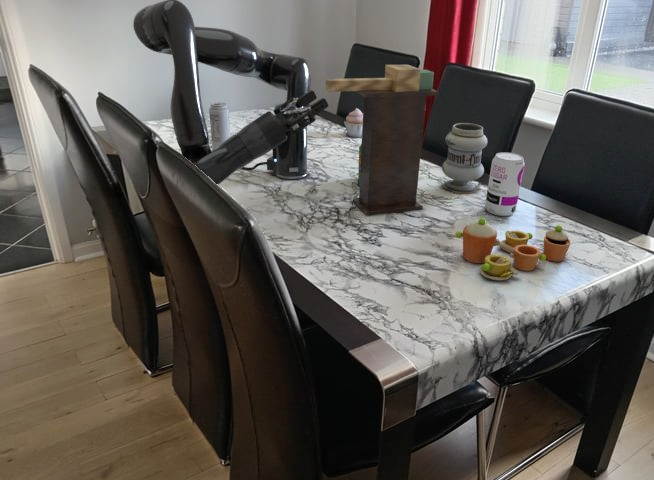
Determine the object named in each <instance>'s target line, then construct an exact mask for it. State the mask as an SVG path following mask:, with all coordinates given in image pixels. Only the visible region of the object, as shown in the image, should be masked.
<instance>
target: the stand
mask: <svg viewBox="0 0 654 480" xmlns="http://www.w3.org/2000/svg"><path fill="white" fill-rule="evenodd" d="M353 92H354V93H356V94H358V95H360V96H362V97H363V108H362V113H363V126H362V137H361V144H362V147H361V168H360V186H359V191H358V192H359V193H358V197H353V198H352V203H353V204H355V206H356V207H357V208H358V209H359V210H360V211H362V213H363V214H365V215H366V216H374V215H382V214H393V213H400V212H401V213H402V212H410V211H419V210H420V211H421V210H423V205H422V204H421V203H420V202H418V201H417V195H418V194H417V193H418V185H419V184H418V183H419V174H420V166H421V165H420V164H421V155H422V145H423V133H424V123H425V114H426V105H427V97H429V96H430V97H435V96H438V94H439V91H438V90H435V89H434V88H432V90H419V91H413V92H395V91H393V90H374V91H353Z"/></svg>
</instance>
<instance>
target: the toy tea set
mask: <svg viewBox="0 0 654 480" xmlns="http://www.w3.org/2000/svg"><path fill="white" fill-rule="evenodd" d="M504 235H505V236H504V237H505V239H503V240H501V241H500V238H497V237H498V232H497V230H496V229H495V228H494V227H493V226H492V225H491V224H489V223H487V222H486V218H484V217H481V218H479V219H478V221H475V222H472V223H469V224H468V225H465V226H464V228H463V229H462V231H460V230H459V231H457V232H455V237H456V238H457V239H460V238H462V257H463V259H464V260H466V261H467V262H470V263H473V264H483V265H481V266H480V268H479V273H480V274H481V275H482V276H483V277H484V278H486V279H489V280H493V281H506V280H508V279H510V278H511V277H512V276H518V274H519V271H518V270H520V271H524V272H530V271H533V270H534V269H535V268H536V266H537V264H538V262H539V261H541V262H545V261H546V260H547V261H551V262H556V263H557V262H558V263H559V262H562V261H564V260H565V258H566V256H567V253H568V250H569V249H570V246H571V244H572V242H571V240H570V239H569V235H568V234H567V233H566V232H565V231H563V227H562V225H559V224H558V225H556V226H555V228H553V229H550V230H547V231H545V236H544V237H543V252H542V251H541V250H540V249H539V248H538V247H536V246H534V245H530V244H528V242H529V241H530V240H531V239H533V237H534V236H533V233H531V232H524V231H521V230H506V231H505V234H504ZM497 246H499V247H500V248H501V249H502V250H504V252H507V253H509V255H508V256H509V257H510V258H512V259H513V262H512V261H511V259H510V258H509V257H507V256H504V255H500V254H492V251H493V248H494V247H497ZM541 252H542V253H541ZM513 265H514V267H515V268H513V267H512V266H513ZM517 269H518V270H517Z"/></svg>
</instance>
